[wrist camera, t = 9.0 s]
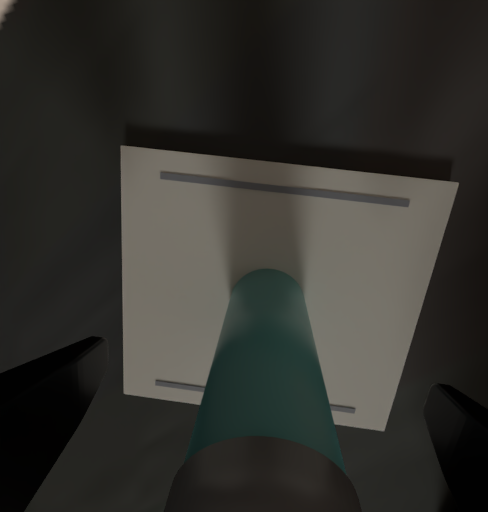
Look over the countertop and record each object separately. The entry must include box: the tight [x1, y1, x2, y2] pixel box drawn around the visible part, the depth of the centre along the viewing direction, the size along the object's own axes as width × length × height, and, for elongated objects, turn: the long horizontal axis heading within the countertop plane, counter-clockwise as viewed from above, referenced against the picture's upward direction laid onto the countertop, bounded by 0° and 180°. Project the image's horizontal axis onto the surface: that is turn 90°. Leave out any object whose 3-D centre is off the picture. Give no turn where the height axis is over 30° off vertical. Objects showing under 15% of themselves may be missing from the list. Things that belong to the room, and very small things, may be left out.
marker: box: [164, 269, 362, 512], centre depth 8 cm, size 3×3×10 cm
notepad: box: [121, 146, 459, 431], centre depth 13 cm, size 12×11×1 cm
